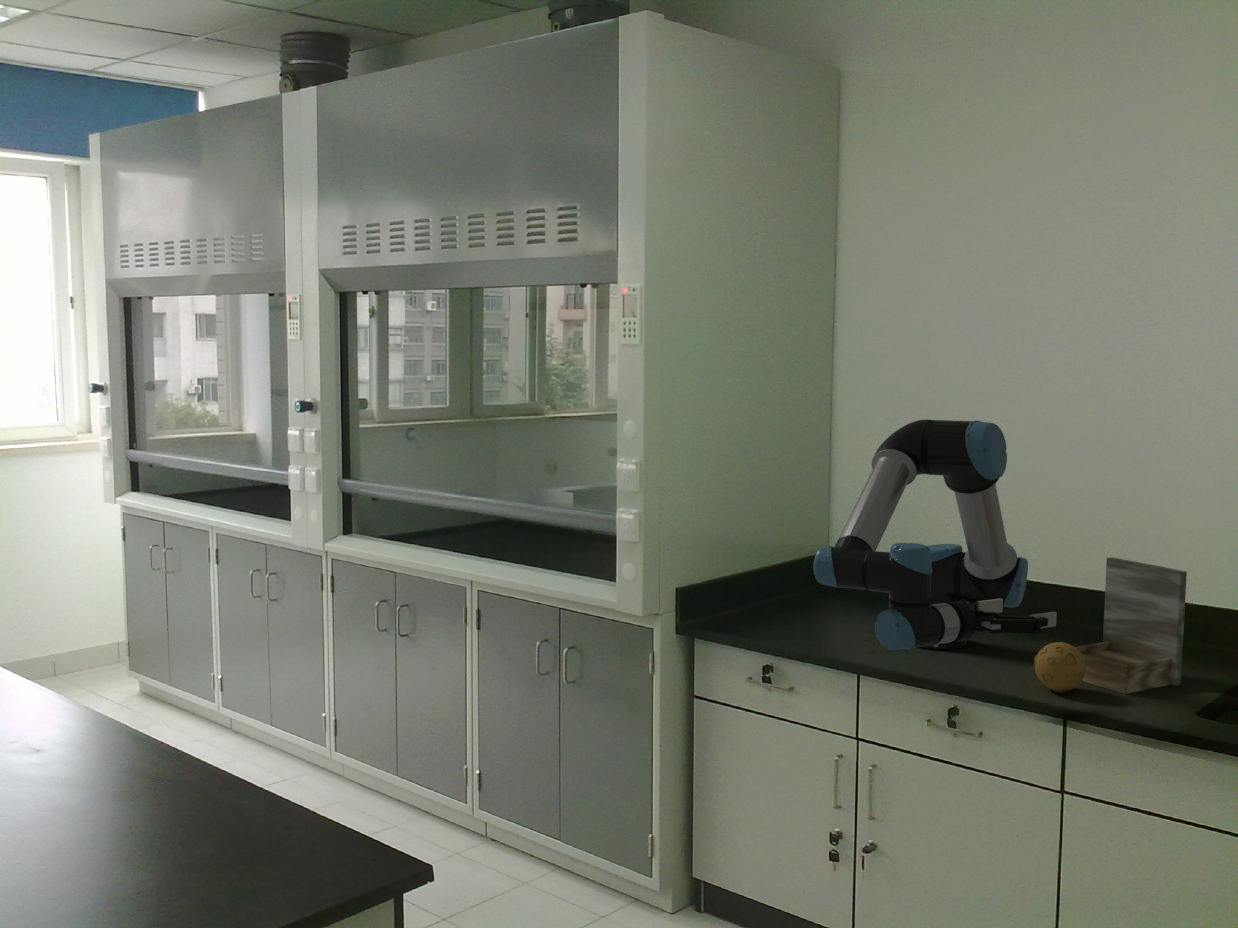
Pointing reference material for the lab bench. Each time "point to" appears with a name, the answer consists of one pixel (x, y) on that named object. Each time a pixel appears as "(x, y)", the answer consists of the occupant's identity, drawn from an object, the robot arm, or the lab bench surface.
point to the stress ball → (1060, 666)
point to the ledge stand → (1139, 628)
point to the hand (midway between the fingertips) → (1027, 611)
